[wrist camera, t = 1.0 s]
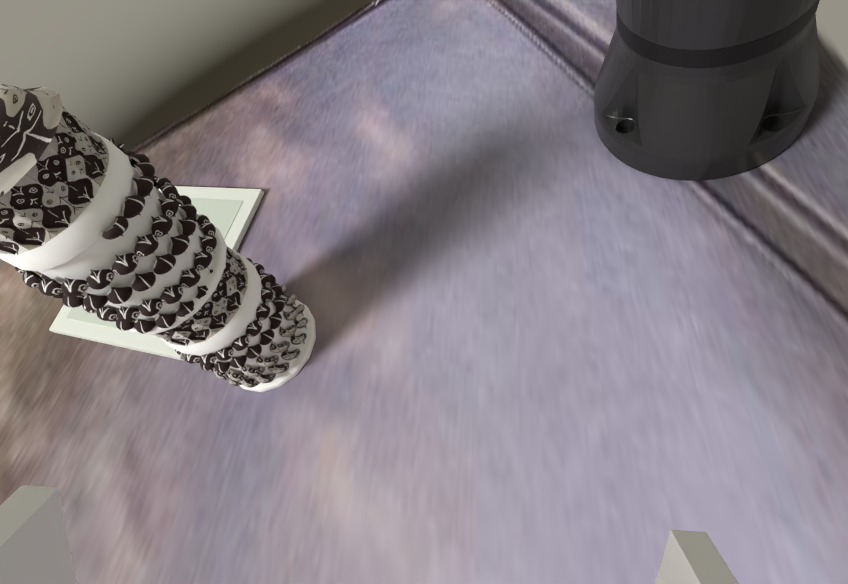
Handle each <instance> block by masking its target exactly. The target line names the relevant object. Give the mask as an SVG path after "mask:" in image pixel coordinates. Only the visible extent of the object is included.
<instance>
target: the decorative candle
mask: <svg viewBox="0 0 848 584" xmlns="http://www.w3.org/2000/svg"><path fill="white" fill-rule="evenodd" d="M118 148H119V149H120V150H119V149H118ZM121 150H122V151H123V152H124V144H123V145H121V144H119V145H118V146H117V147H116V146H115V145H114V140H113V138H111V139H106V138H104V137H102V136H100V135H98V134H96V133H95V132H92V131H91V130H90V129H89V128H88V127H87V126H86V125H84V124H83V123H81V121H80V120H78V119H77V118H76V117H75V116H73V115H71V114H70V113H69V112H68V111H67V110H66V109H65V108H64V107H63V106H62V103H61V99H60V95H59V93H57V92H55V91H53V90H51V89H49V88H47V87H39V88H31V89H21V88H18V87H14V86H10V85H3V84H0V259H2V260H4V261H6V262H8V264H9V263H10V264H12V265H14V267H15V269H16V270H17V271H18V272H19V273H22V274H23V281H24V283H25V284H26V285H28V286H29V287H32V288H39V290H40V292H41V293H43V294H45V295H48V296H53V297H55V298H62V300H63V303H64V305H65V306H67V307H71V308H75V307H79V306H81V305H82V307H83V309H84V310H85V311H87V312H89V313H96V314H97V316H98V318H99V319H101V320H104V321H110V322H114V321H116V326H117V328H118V329H119V330H123V331H126V330H129V331H131V332H133V333H140V334H148V335H155V336H157V337H159V338H160V339H161V340H163V341H164V342H165V343H166V344H167V345H168V346H170V347H172V348H174V349H175V351H176V353H177V354H179V355H185V358H186V360H187V362H189V363H200V365H201V368H202V369H203V370H209V371H211V372H214V373H215V375H216V376H217V377H218V378H220V379H228V381H229V383H230V384H232V385H235V386H241V387H242V388H243V389H245V390H251V391H257V392H264V391H268V390H272V389H275V388H279V387H281V386H282V385H284V384H285V383H286V382H288V381H289V380H291V379H292V378H293V377H295V376H296V375H297V374H298V373H299V372H300V370H301V369H302V367H303V366H304V365H305V363H306V362H307V361H308V359H309V358H310V355H311V352H312V349H313V346H314V343H315V340H316V326H315V319H314V318H313V316H312V314H311V312H310V310H309V308H308V307H307V306H306V305H304V304H303V303H301V302H300V301H298V300H297V296H296V295H295V294H292V295H290V296H286V295H285V293H286V291H287V287H286V286H285V285H281V286H280V285H279V284H276V281H275V280H276V279H275V277H274V276H273V275H271V274H265V273H264V267H263V266H262V265H260V264H257V263H255V264H253V263H252V260H251V259H249V258H245V257H244V256H243V255H241V254H239V253H238V252H236V251H234V250H233V249H231V248H229V247H228V246H227V245H226V243H225V241H224V239H223V236H222V234H221V232H220V230H219V229H218V228H217V227H215V226H214V225H213V224H212V223H210V221H209V218H208V217H207V216H205V215H198V214H197V210H196V208H195V206H194V205H192V204H191V199H190V198H189V197H188V196H185V195H180V194H179V193H178V190H177V189H176V187H175V186H173V185H172V184H171V182H170V180H168V179H167V178H164V177H160V178H158V177H156V176H154V173H155V169H154V166H153V165H152V164H151V163H150V161H149V158H148V157H147V156H146V155H144V154H136V153H135V152H132V151H128V152H124V153H123V152H122V151H121ZM132 167H135V168H137V169H138V171H139V172H140V174H141V175H142V176H141V175H140V174H139V173H138V172H136V171H135V170H134V169H133V168H132ZM159 188H160V190H161V191H162V193H163V194H162V193H161V192H160V191H159ZM179 204H180V205H181V206H179ZM179 207H180V208H179ZM32 271H39V272H40V276H41V277H40V276H38V275H37V274H35V273H34V272H32ZM56 281H57V282H56ZM58 282H59V283H61V284H59V283H58Z"/></svg>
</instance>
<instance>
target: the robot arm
mask: <svg viewBox="0 0 848 584" xmlns="http://www.w3.org/2000/svg"><path fill="white" fill-rule="evenodd" d="M819 1H820V0H616V4H617V26H616V29H615V32H614V34H613V37H612V40H611V43H610V45H609V48H608V51H607V54H606V56H605V59H604V62H603V65H602V67H601V70H600V73H599V76H598V78H597V81H596V85H595V92H594V113H595V124H596V129H597V132H598V134H599V137H600V138H601V140H602V142H603V143H604V145H605V146H606V147H607V149H608V150H609V151H610V152H611V153H612V154H613V155H614V156H615V157H617V158H618V159H619V160H621V161H622V162H623V163H625V164H627V165H628V166H630V167H632V168H634V169H636V170H639V171H641V172H644V173H647V174H650V175H654V176H657V177H662V178H668V179H675V180H708V179H716V178H722V177H727V176H731V175H735V174H739V173H742V172H745V171H748V170H750V169H753V168H755V167H757V166H759V165H762V164H764V163H765V162H767V161H769V160H771V159H772V158H774V157H775V156H777V155H779V154H780V153H781V152H782V151H784V150H785V149H786V148H787V147H788V146H790V145H791V144H792V143H793V142H794V140H795V139H796V138H797V137H798V136H799V135H800V133H801V132H802V130H803V129H804V127H805V125H806V123H807V121H808V118H809V116H810V113H811V111H812V108H813V106H814V104H815V101H816V99H817V95H818V92H819V86H820V76H821V75H820V63H819V51H818V39H817V27H816V15H815V13H816V10H817V7H818V4H819ZM0 584H78V582H77V578H76V573H75V568H74V563H73V558H72V553H71V548H70V543H69V539H68V534H67V529H66V524H65V519H64V514H63V509H62V504H61V499H60V495H59V490H58V488H55V487H40V486H25V485H22V486H21V487H20V488H19V489H17V490H16V491H15V492H14V493H13V494H12V495H11V496H10V497H9V498H8V499H7V500H6V501H5V502H3V503H2V504H1V505H0ZM655 584H739V583H738V582H737V580H736V579H735V577H734V575H733V574H732V572H731V571H730V569H729V568H728V566H727V564H726V563H725V561H724V560H723V558H722V556H721V555H720V553H719V552H718V550H717V549H716V547H715V545H714V544H713V542H712V541H711V539H710V538H709V536H708V534H707V533H706V532H694V531H680V530H671V531H670V534H669V538H668V541H667V545H666V548H665V551H664V555H663V558H662V562H661V565H660V568H659V572H658V575H657V579H656V582H655Z"/></svg>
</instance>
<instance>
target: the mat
mask: <svg viewBox="0 0 848 584" xmlns="http://www.w3.org/2000/svg"><path fill="white" fill-rule="evenodd" d="M175 187H176V189H177V190H178V193H179V194H180V195H185V196H188V197H189V198H190V199H191V204H192V205H194V206H195V208H196V210H197V214H198V215H205V216H207V217H208V218H209V221H210V223H212V224H213V225H214V226H215V227H217V228H218V229H219V230H220V232H221V234H222V236H223V239H224V241H225V243H226V245H227V246H228V247H229V248H231V249H233V250H234V251H236V252H237V250H238V248H239V246H240V244H241V241H242V239H243V237H244V235H245V233H246V231H247V229H248V227H249V225H250V223H251V220H252V218H253V216H254V214H255V212H256V210H257V208H258V206H259V204H260V202H261V199H262V197H263V195H264V192H263V191H262V190H261V189H240V188H212V187H185V186H175ZM159 191H160V192H161V193H162V191H161V190H160V188H159ZM162 194H163V193H162ZM179 206H181V205H180V204H179ZM179 208H180V207H179ZM49 330H50V331H52V332H54V333H59V334H64V335H68V336H73V337H78V338H82V339H87V340H91V341H96V342H101V343H105V344H110V345H114V346H119V347H124V348H128V349H133V350H137V351H142V352H147V353H151V354H156V355H160V356H165V357H170V358H174V359H179V360H183V361H185V359H186V358H185V355H179V354H177V353H176V351H175V349H174V348H172V347H170V346H168V345H167V344H166V343H165V342H164V341H163V340H161V339H160V338H159V337H157V336H155V335H148V334H140V333H133V332H131V331H129V330H126V331H123V330H119V329H118V328H117V326H116V321H114V322H110V321H104V320H101V319H99V318H98V316H97V314H96V313H89V312H87V311H85V310H84V309H83V307H82V305H81V306H79V307H75V308H71V307H67V306H65V305H63V307H62V309H61V310H60V312H59V314H58V316H57V317H56V319H55V321H54V322H53V324H52V326H51V327H50V329H49Z"/></svg>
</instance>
